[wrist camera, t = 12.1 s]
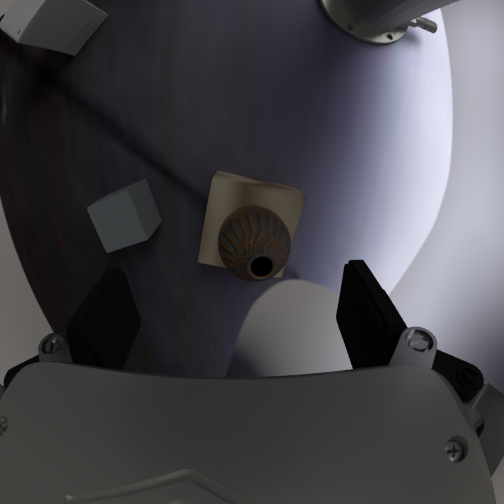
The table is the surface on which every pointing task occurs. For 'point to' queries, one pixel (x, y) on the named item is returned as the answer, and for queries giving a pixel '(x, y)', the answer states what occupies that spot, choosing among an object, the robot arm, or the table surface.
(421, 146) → the table surface
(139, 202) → the slate block
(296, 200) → the birch block
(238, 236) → the vase
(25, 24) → the supplement box
